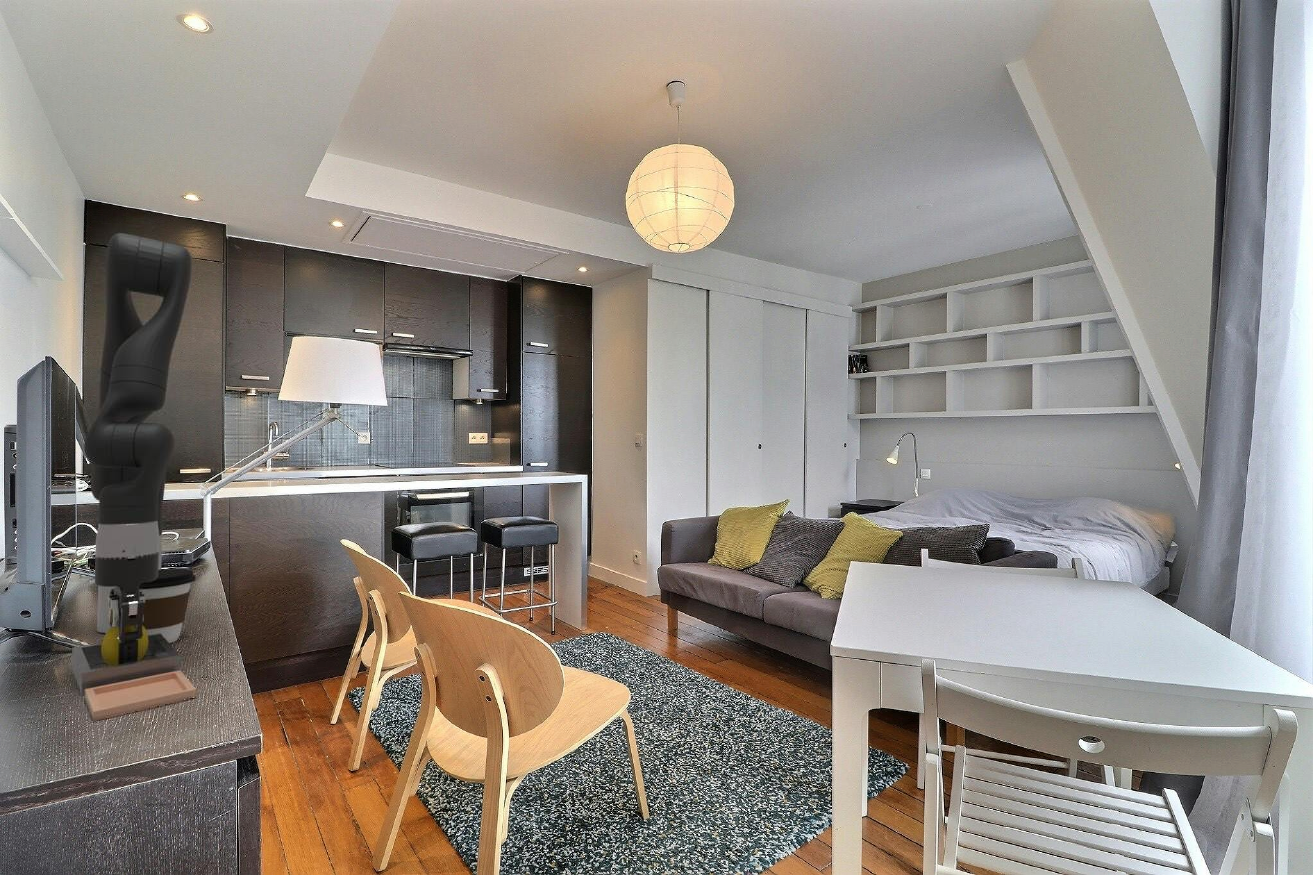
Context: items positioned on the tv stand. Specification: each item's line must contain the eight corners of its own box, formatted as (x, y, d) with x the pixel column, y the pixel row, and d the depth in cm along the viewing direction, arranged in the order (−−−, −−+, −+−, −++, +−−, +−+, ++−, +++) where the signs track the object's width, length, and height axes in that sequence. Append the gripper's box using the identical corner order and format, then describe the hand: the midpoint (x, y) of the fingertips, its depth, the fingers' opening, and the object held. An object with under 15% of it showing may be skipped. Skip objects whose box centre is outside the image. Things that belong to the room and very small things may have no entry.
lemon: (120, 678, 94) (122, 624, 94) (90, 675, 95) (92, 622, 95) (156, 666, 99) (158, 615, 99) (128, 663, 100) (129, 613, 100)
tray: (84, 698, 86) (84, 689, 86) (180, 678, 94) (180, 670, 94) (93, 721, 79) (93, 711, 79) (195, 697, 87) (196, 689, 87)
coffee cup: (184, 647, 108) (185, 577, 109) (104, 654, 104) (106, 582, 105) (202, 630, 119) (203, 566, 119) (130, 636, 114) (132, 570, 115)
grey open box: (71, 667, 98) (71, 647, 98) (160, 651, 106) (160, 633, 106) (81, 695, 87) (82, 673, 87) (179, 675, 95) (180, 655, 95)
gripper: (90, 548, 99) (87, 656, 99) (101, 560, 90) (97, 679, 89) (150, 544, 105) (147, 646, 104) (167, 554, 95) (164, 667, 95)
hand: (124, 661), depth 97 cm, fingers closed on lemon, 5 cm apart
